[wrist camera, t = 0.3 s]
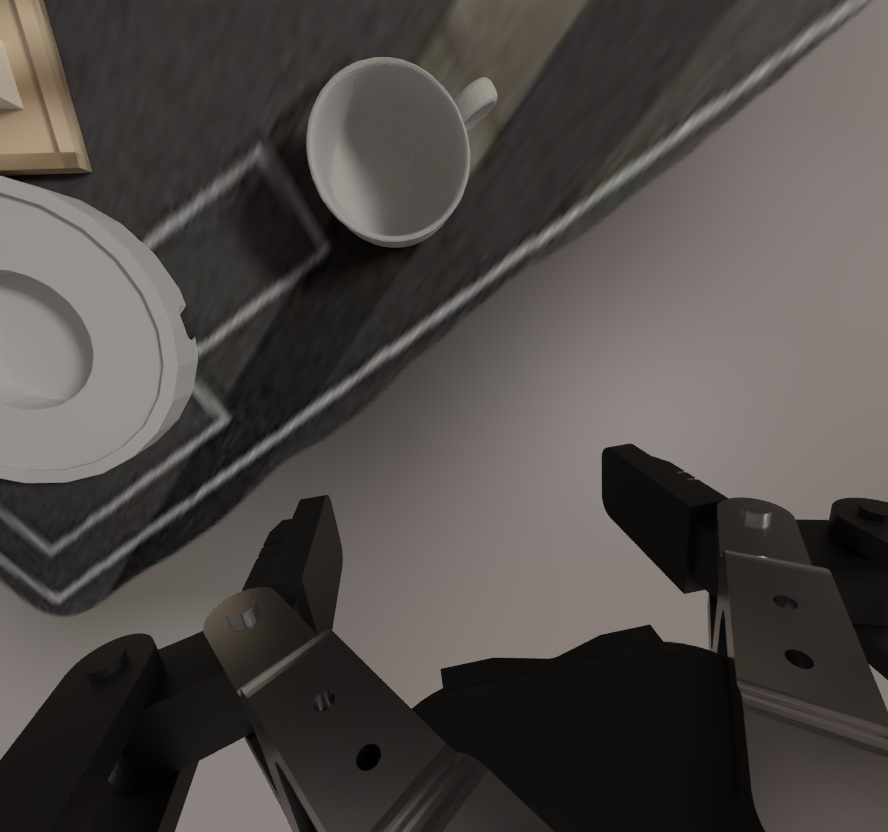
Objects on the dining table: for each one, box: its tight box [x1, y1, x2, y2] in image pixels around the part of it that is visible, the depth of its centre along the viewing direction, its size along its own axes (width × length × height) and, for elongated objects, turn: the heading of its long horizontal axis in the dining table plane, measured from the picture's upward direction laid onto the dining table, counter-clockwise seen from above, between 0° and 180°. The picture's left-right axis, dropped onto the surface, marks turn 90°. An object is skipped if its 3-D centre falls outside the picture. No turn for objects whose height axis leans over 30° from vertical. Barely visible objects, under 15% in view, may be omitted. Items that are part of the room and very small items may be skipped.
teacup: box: [306, 57, 497, 248], centre depth 31 cm, size 14×11×8 cm
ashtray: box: [0, 176, 198, 483], centre depth 33 cm, size 23×23×4 cm
